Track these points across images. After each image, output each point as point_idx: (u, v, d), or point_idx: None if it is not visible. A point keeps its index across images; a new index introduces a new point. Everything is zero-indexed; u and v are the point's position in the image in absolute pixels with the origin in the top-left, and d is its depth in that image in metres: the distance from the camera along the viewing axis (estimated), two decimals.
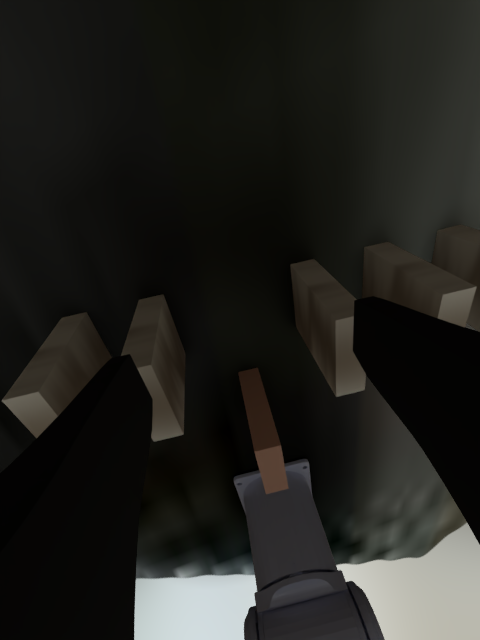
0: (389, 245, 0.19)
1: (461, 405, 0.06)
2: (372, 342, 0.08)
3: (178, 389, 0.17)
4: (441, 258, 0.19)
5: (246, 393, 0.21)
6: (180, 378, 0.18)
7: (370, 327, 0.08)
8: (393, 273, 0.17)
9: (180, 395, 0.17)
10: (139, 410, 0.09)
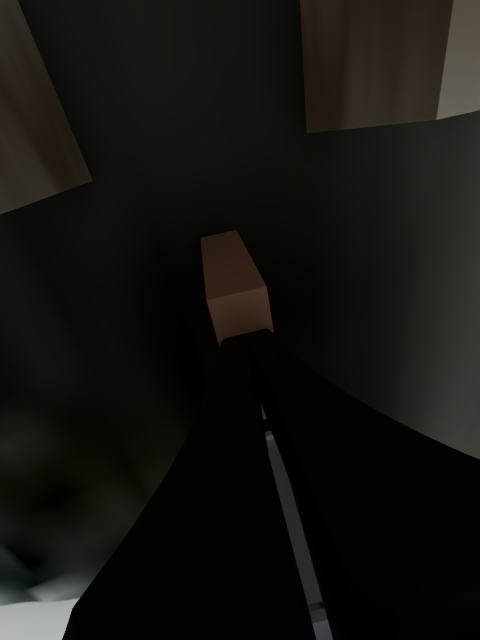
0: None
1: (287, 448, 0.06)
2: (254, 371, 0.08)
3: (5, 145, 0.06)
4: None
5: (208, 246, 0.11)
6: (38, 159, 0.08)
7: (251, 356, 0.08)
8: None
9: (13, 165, 0.06)
10: (255, 382, 0.09)
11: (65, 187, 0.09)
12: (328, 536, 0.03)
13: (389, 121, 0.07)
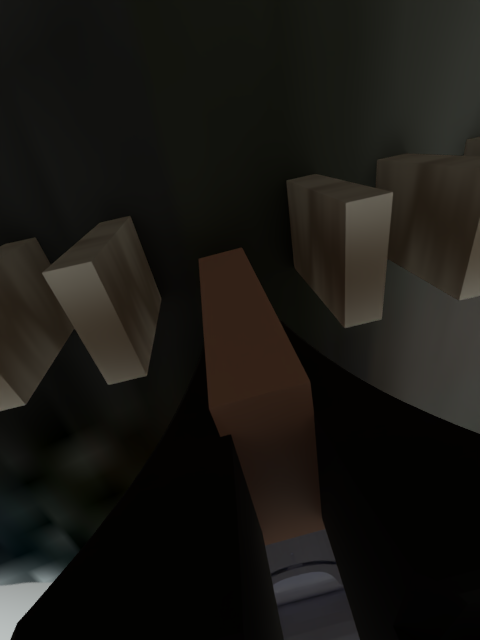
0: (408, 154, 0.15)
1: None
2: None
3: (143, 324, 0.13)
4: None
5: (209, 283, 0.08)
6: (149, 316, 0.14)
7: None
8: (415, 176, 0.13)
9: (146, 332, 0.13)
10: None
11: (156, 320, 0.15)
12: (373, 525, 0.03)
13: (330, 309, 0.13)
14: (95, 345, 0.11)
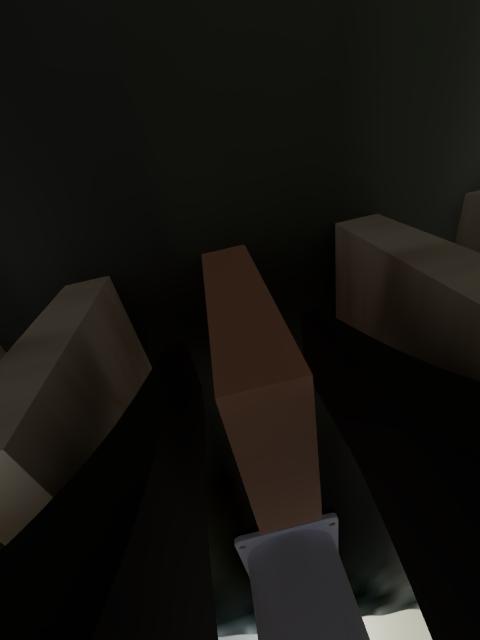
0: None
1: (378, 426, 0.06)
2: (315, 356, 0.08)
3: None
4: None
5: (212, 278, 0.09)
6: None
7: (312, 341, 0.08)
8: None
9: None
10: (196, 396, 0.09)
11: None
12: None
13: None
14: None
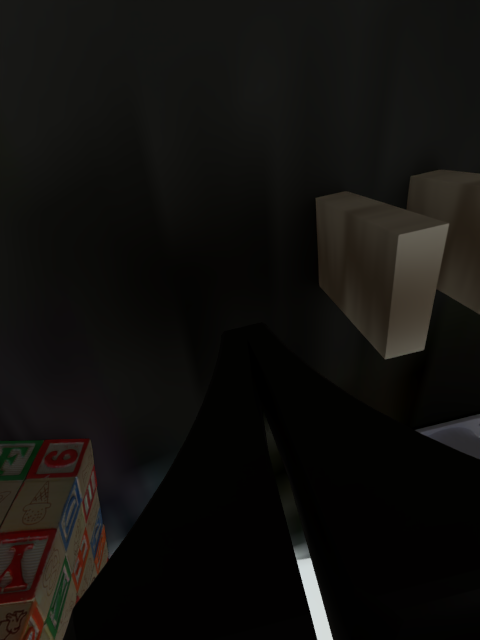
0: None
1: (287, 448, 0.06)
2: (254, 370, 0.08)
3: None
4: None
5: None
6: None
7: (251, 356, 0.08)
8: None
9: None
10: (255, 382, 0.09)
11: None
12: (328, 536, 0.03)
13: None
14: None
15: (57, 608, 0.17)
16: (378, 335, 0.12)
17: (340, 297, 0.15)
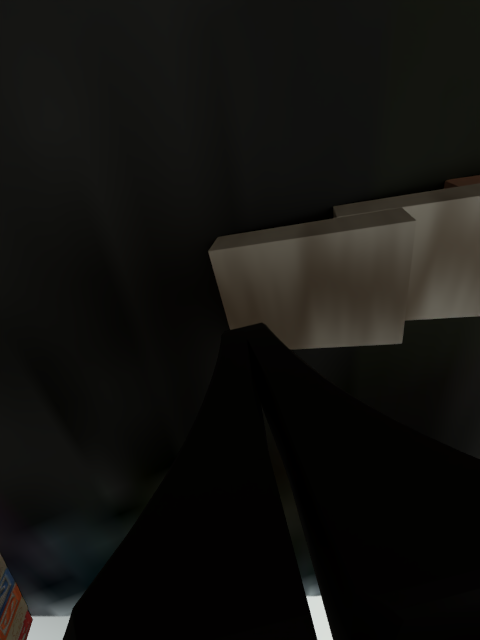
0: None
1: (287, 448, 0.06)
2: (254, 371, 0.08)
3: None
4: None
5: None
6: None
7: (251, 356, 0.08)
8: None
9: None
10: (255, 382, 0.09)
11: None
12: (329, 536, 0.03)
13: None
14: None
15: None
16: (387, 329, 0.12)
17: (299, 336, 0.12)
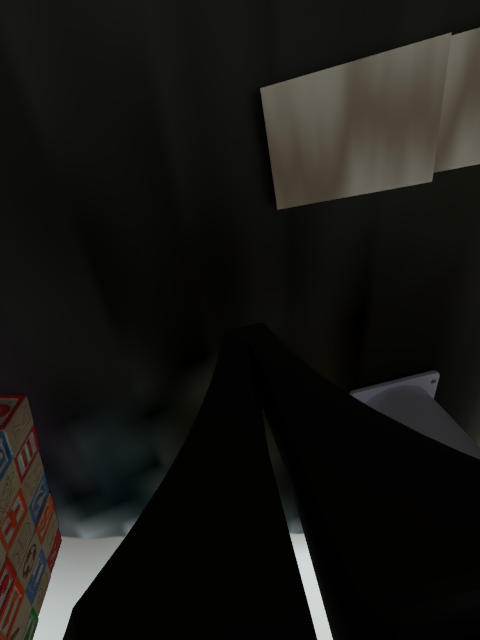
0: None
1: (287, 448, 0.06)
2: (255, 370, 0.08)
3: None
4: None
5: None
6: None
7: (251, 356, 0.08)
8: None
9: None
10: (255, 382, 0.09)
11: None
12: (329, 536, 0.03)
13: None
14: None
15: None
16: (419, 164, 0.13)
17: (337, 182, 0.14)
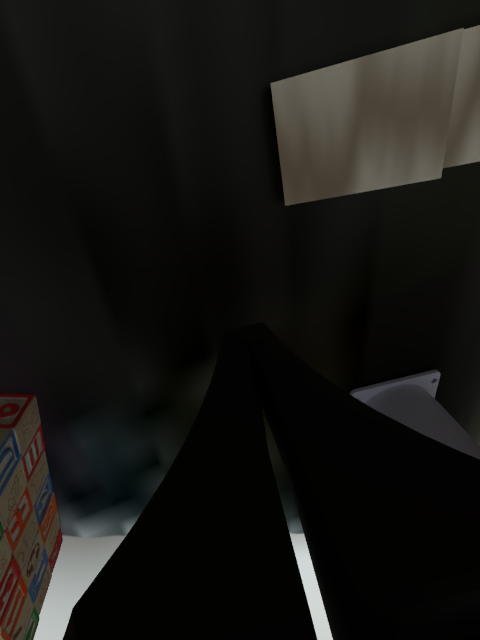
0: None
1: (288, 448, 0.06)
2: (254, 370, 0.08)
3: None
4: None
5: None
6: None
7: (251, 356, 0.08)
8: None
9: None
10: (255, 382, 0.09)
11: None
12: (329, 536, 0.03)
13: None
14: None
15: None
16: (428, 161, 0.13)
17: (346, 179, 0.14)
